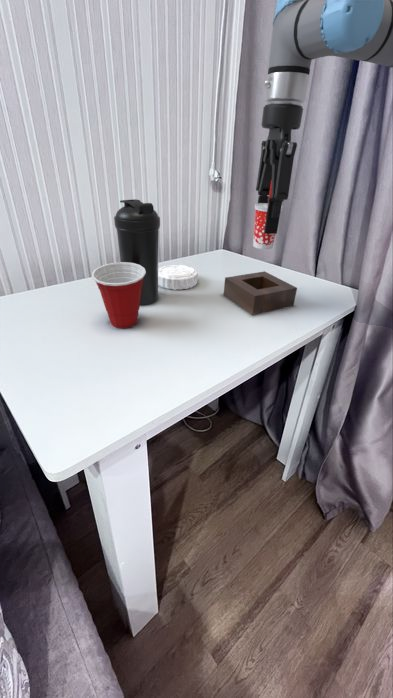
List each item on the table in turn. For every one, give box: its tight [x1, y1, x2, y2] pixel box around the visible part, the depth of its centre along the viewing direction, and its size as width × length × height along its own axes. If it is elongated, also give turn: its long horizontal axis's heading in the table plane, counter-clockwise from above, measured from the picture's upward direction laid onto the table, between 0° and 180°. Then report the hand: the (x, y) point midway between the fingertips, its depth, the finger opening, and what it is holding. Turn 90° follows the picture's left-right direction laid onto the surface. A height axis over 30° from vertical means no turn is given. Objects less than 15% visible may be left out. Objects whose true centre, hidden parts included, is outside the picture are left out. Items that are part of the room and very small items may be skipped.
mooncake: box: [158, 264, 199, 291], centre depth 94 cm, size 12×12×4 cm
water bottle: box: [113, 198, 161, 306], centre depth 79 cm, size 10×10×23 cm
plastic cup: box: [91, 261, 146, 329], centre depth 70 cm, size 11×11×12 cm
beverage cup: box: [252, 180, 284, 250], centre depth 74 cm, size 6×6×14 cm
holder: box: [223, 271, 298, 316], centre depth 85 cm, size 13×13×5 cm
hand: (265, 229), depth 76 cm, fingers closed on beverage cup, 6 cm apart
